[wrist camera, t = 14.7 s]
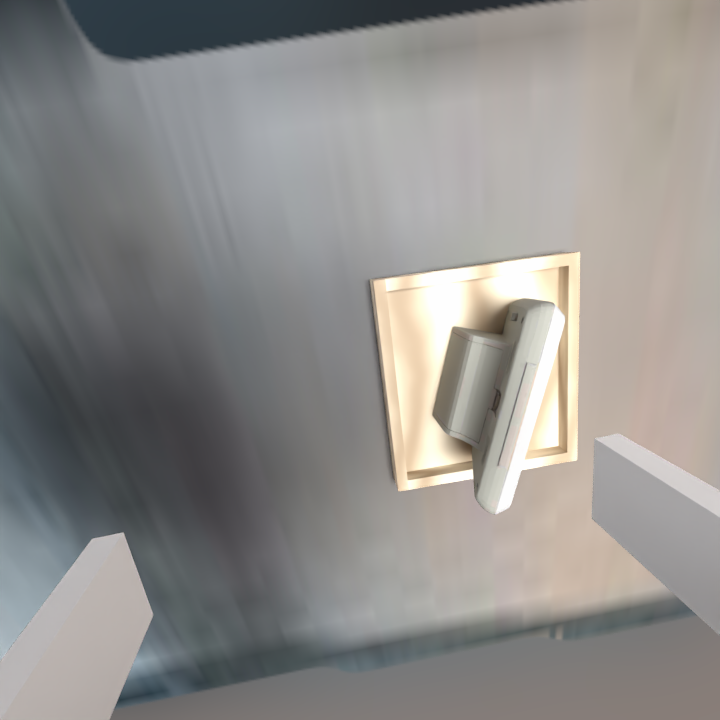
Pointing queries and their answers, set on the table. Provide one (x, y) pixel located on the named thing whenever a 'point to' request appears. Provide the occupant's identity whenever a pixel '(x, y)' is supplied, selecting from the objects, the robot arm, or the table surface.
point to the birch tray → (429, 349)
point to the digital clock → (499, 394)
